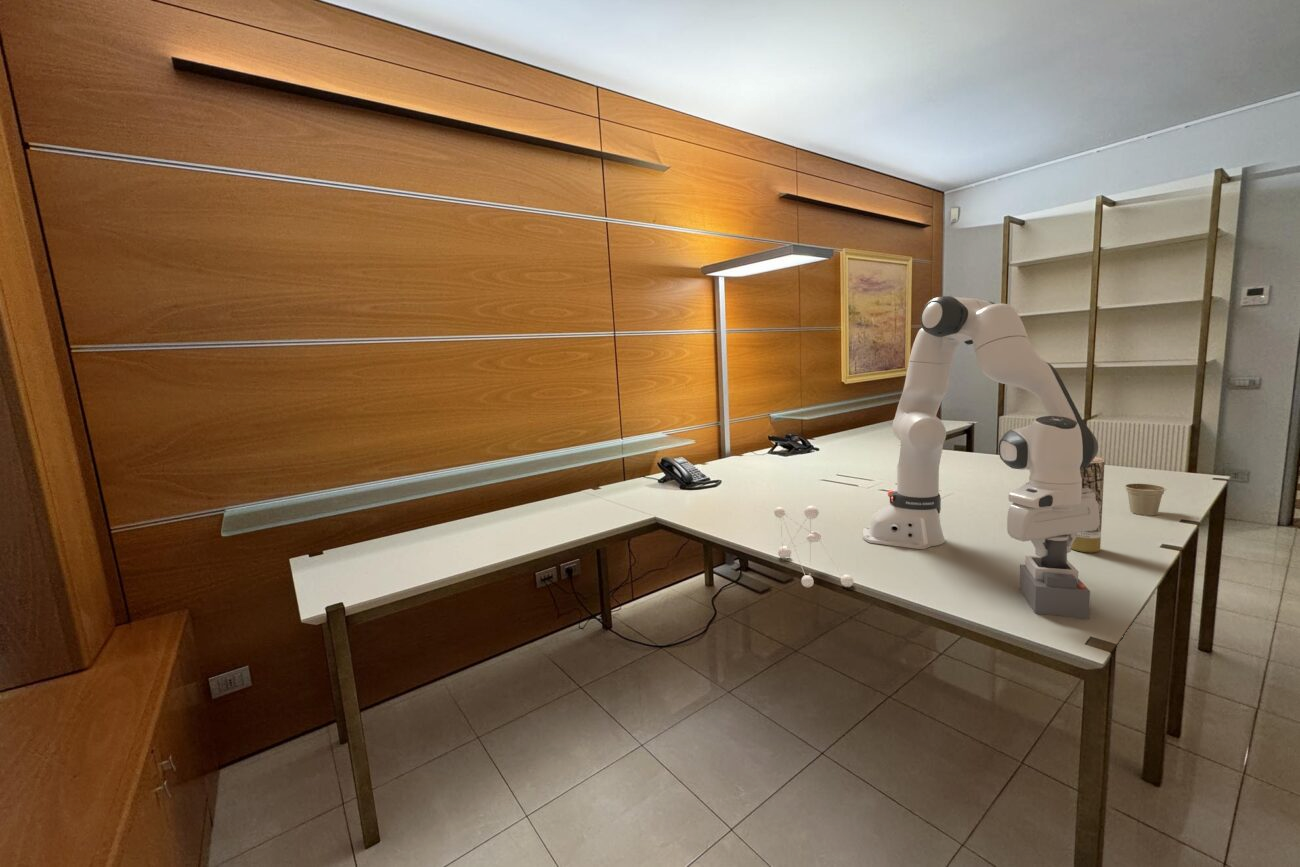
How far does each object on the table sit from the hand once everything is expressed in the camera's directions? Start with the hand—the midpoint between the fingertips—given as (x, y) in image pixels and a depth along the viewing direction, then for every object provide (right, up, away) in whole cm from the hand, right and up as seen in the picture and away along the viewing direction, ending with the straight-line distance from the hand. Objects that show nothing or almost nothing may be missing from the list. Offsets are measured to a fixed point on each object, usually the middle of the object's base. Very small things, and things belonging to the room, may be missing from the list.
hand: (1053, 554), depth 110 cm
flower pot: (+69, +1, +51) cm, 86 cm away
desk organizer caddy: (0, -11, 0) cm, 11 cm away
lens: (0, -3, 0) cm, 3 cm away
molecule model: (-46, -11, +25) cm, 53 cm away
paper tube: (+30, -5, +27) cm, 40 cm away
